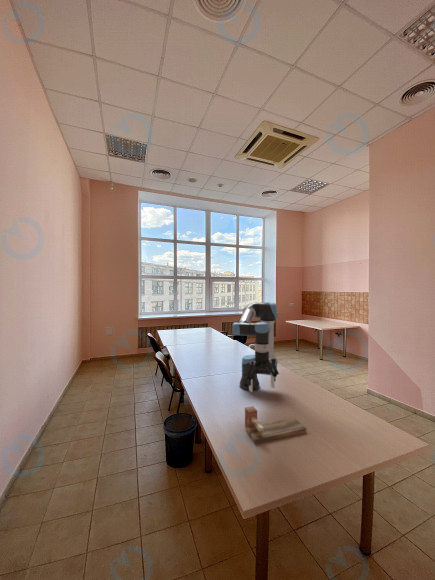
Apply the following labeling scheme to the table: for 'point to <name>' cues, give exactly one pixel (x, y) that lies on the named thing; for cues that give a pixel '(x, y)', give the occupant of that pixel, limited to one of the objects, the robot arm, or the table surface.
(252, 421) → the mallet
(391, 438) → the table surface
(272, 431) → the board
